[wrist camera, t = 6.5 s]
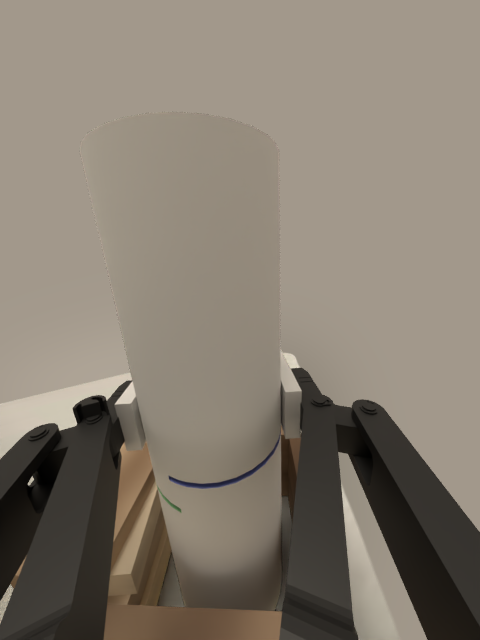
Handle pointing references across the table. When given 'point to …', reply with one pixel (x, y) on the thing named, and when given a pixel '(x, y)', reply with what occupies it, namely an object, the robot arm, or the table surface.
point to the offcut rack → (152, 560)
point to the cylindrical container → (201, 335)
